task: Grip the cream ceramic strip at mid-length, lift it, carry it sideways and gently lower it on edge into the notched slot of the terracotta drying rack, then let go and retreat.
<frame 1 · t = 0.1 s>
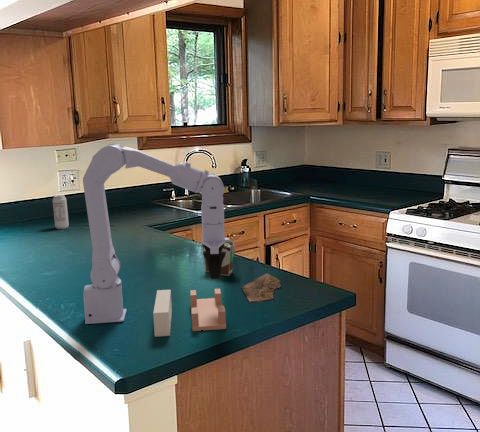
hand: (214, 273, 137), 10 cm above the table, fingers open, 7 cm apart
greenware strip: (163, 323, 132), on the table
food container: (222, 271, 173), on the table
wooden fragment: (261, 288, 156), on the table
energy drink can: (62, 228, 245), on the table
rack: (207, 315, 136), on the table
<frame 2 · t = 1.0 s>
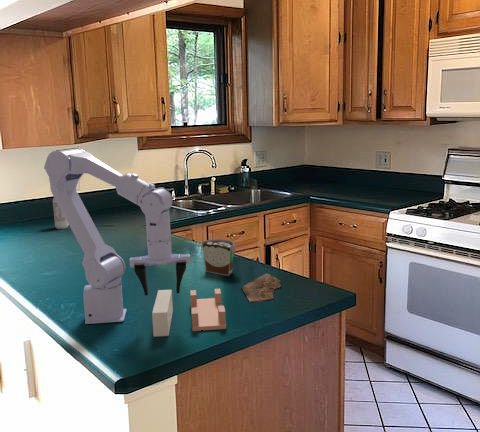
hand: (162, 293, 130), 8 cm above the table, fingers open, 7 cm apart
nothing on the table moved.
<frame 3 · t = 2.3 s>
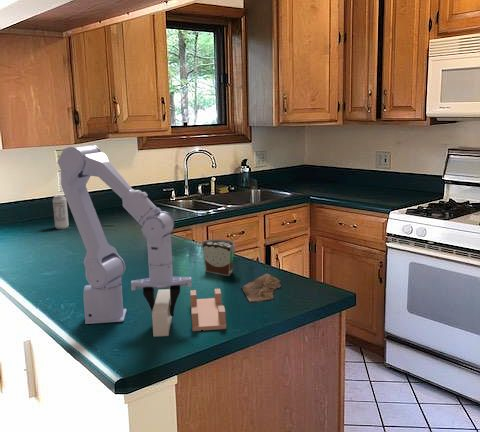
hand: (163, 315, 131), 2 cm above the table, fingers closed on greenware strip, 4 cm apart
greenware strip: (163, 322, 132), on the table, touching gripper
everything else where it was.
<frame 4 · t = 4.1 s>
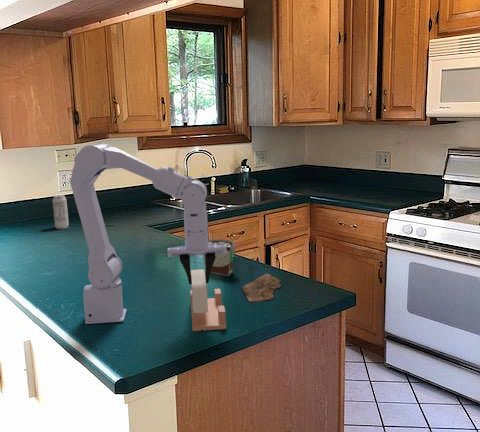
hand: (198, 282, 133), 9 cm above the table, fingers closed on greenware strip, 3 cm apart
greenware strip: (199, 301, 134), point 4 cm above the table, touching gripper
everything else where it was.
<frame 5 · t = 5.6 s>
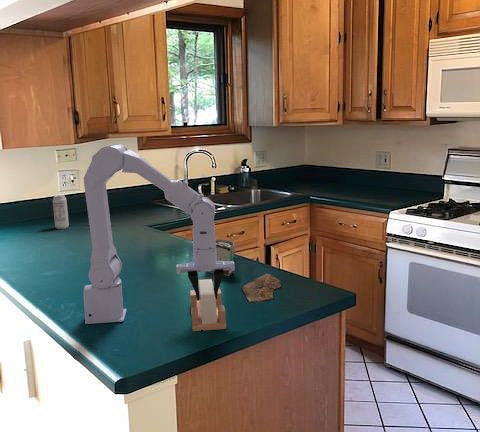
hand: (206, 298, 135), 4 cm above the table, fingers closed on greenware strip, 4 cm apart
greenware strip: (207, 311, 135), point 1 cm above the table, touching gripper, rack
everything else where it was.
when the fingers open (4 cm above the table, at t = 5.6 s): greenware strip stays where it is, resting on rack.
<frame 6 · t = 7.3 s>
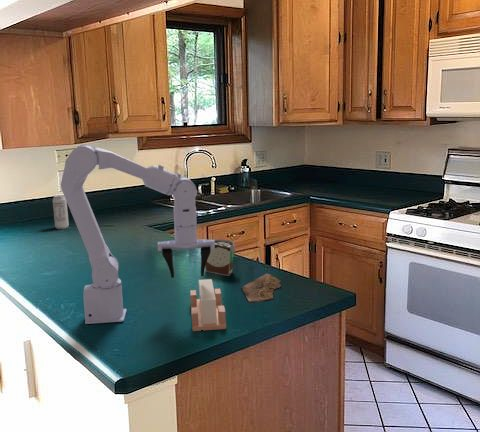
hand: (187, 275, 138), 9 cm above the table, fingers open, 7 cm apart
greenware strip: (207, 311, 135), point 1 cm above the table, touching rack
everything else where it was.
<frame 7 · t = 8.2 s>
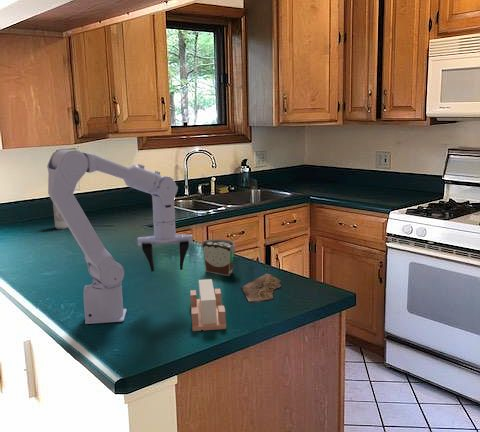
hand: (167, 269, 144), 9 cm above the table, fingers open, 7 cm apart
nothing on the table moved.
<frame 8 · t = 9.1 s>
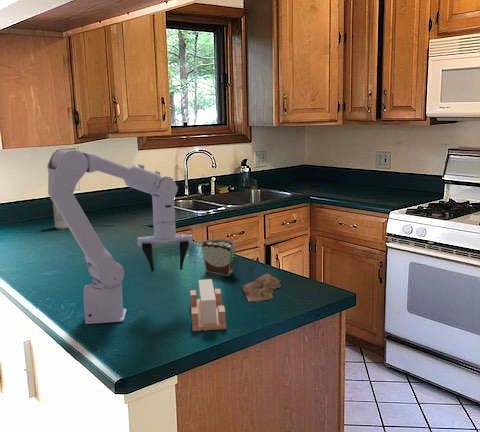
hand: (167, 269, 144), 9 cm above the table, fingers open, 7 cm apart
nothing on the table moved.
at the end: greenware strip 0.2 cm off-centre on the rack, point 1.0 cm above the rack's base; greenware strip tilted 0°; the gripper is holding nothing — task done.
